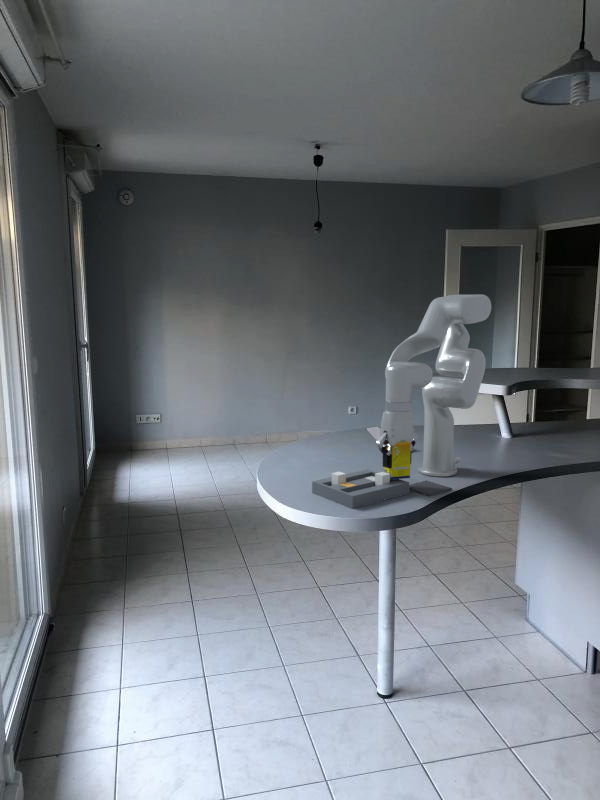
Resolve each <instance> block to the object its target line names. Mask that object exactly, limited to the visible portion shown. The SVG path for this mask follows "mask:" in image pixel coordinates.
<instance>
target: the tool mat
mask: <svg viewBox="0 0 600 800" xmlns="http://www.w3.org/2000/svg"><path fill="white" fill-rule="evenodd" d="M409 489H410V490H409V491H411V490H413V492H415V491H416V492H415V493H418V492H419V493H418V494H421V493H422V494H421V495H424V494H425V495H424V496H427V497H430V496H435V495H437V494H441V493H446V492H449V491H452V489H453V488H452V487H450V486H448V485H447V486H446V485H442V484H439V483H436V482H433V481H429V480H423V481H419V482H418V481H417V482H414V483H412V484H410V483H409Z"/></svg>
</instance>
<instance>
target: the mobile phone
mask: <svg viewBox="0 0 600 800" xmlns="http://www.w3.org/2000/svg"><path fill="white" fill-rule="evenodd" d="M380 429H381V427H378V426H374V427H367V428H366V430H367V431H368V433H369V434H370V435H371V436H372V437H373V438H374V439H375V440H376V441H377V440H378V439H379V438H380ZM383 445H384V444H383ZM414 449H415V448H414V447H413V450H414Z"/></svg>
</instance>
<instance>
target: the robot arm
mask: <svg viewBox="0 0 600 800" xmlns="http://www.w3.org/2000/svg"><path fill="white" fill-rule="evenodd" d="M491 312H492V303H491V299H490V298H489V296H487V294H486V295H485V294H449V295H445V296H440V297H436V298H434V299H433V300H432V301H431V302H430V304H429V305H428V308H427V310H426V312H425V314H424V317H423V318H422V321H421V322H420V325H419V326H418V329H417V331H416V332H415V333H413V334H412V335H410V336H408V337H407V338H405V340H404V341H402V342H401V343H400V344H398V345H397V346H396V348H394V350H393V351H392V353H391V355H390V357H389V359H388V361H387V364H386V367H385V371H384V378H385V406H384V407H385V410H384V411H383V413H382V417H381V422H380V438H379V439H378V440H376V442H375V444H376V446H377V449H378V451H380V453H381V454H382V467H383V468H384V467H386V468H391V467H392V455H390V454H391V451H392V446H395V445H396V443H400V442H405V441H408V442H410V443H411V454H410V465H411V464H412V452H413V450H414V449H413V448H414V447H415V445H416V443H417V441H418V438H419V435H418V434H417V433H416V432H415V427H414V426H415V425H414V424H415V423H414V416H413V411H412V405H413V401H412V399H413V398H412V396H413V395H412V394H413V389H414V388H415V389H421V396H422V401H423V411H424V412H423V414H424V415H423V416H424V418H423V419H424V420H423V421H424V422H423V454H422V455H423V459H422V461H423V462H422V464H420V465H419V466H418V467H417V472H418V473H420V474H422V475H425V476H431V477H438V478H439V477H440V478H441V477H443V478H445V477H452V476H454V475H457V474H458V469H457V467H455V465H456V464H460V463H461V462H462V458H461V457H459V456H458V457H454V433H455V429H454V428H455V419H454V415H453V412H452V411H451V409H450V408H454V409H461V410H463V409H466V410H467V409H471V408H472V407H473V406H475V403H476V402H477V398H478V395H479V391H480V388H481V385H482V383H483V382H482V381H483V378H484V375H485V370H486V357H485V354H484V353H483V351H482V350H480V349H478V348H477V349H476V348H469V345H470V340H471V337H470V334H469V331H468V330H467V328H466V326H464V325H469V324H470V325H471V324H476V323H480V322H483V321H485V320H487V319H488V318H489V316H490V314H491ZM439 347H440V348H439ZM437 348H439V351H438V354H437V357H436V360H435V365H434V366H435V371H436V372H437V373H438V374H440V375H441V376H433V375H434V374H433V369H432V368H431V367H430V366H429V365H428V364H426V363H424V362H416V361H415V362H413V361H410V360H412V358H414V357H417V356H419V355H421V354H424V353H426V352H429V351H433V350H435V349H437ZM388 443H389V444H388ZM383 444H384V445H383ZM387 446H388V447H389V448H388V450H387Z"/></svg>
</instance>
